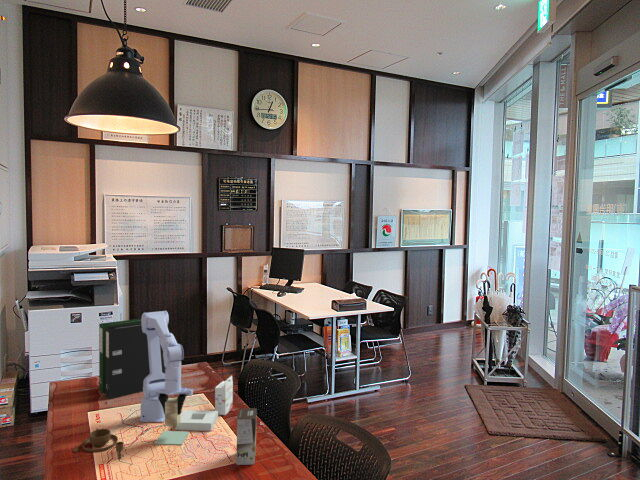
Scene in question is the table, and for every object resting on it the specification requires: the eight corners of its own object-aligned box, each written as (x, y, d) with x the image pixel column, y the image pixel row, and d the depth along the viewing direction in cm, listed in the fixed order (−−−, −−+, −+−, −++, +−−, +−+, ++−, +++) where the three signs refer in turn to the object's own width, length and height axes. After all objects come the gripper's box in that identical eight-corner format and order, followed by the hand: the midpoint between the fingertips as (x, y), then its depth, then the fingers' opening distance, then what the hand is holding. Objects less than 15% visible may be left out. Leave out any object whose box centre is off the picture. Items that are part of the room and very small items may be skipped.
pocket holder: (175, 429, 186) (175, 422, 186) (184, 416, 198) (184, 409, 198) (211, 430, 186) (211, 423, 186) (217, 417, 198) (218, 410, 198)
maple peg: (164, 426, 177) (165, 402, 176) (168, 420, 181) (169, 397, 181) (176, 426, 177) (177, 402, 176) (180, 421, 181) (180, 398, 181)
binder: (155, 378, 243) (155, 316, 241) (167, 386, 232) (168, 322, 230) (99, 390, 225) (99, 323, 223) (109, 400, 214) (109, 329, 212)
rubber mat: (154, 444, 174) (154, 443, 174) (163, 431, 184) (163, 430, 184) (181, 445, 174) (181, 444, 174) (189, 432, 184) (189, 431, 184)
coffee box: (254, 464, 162) (255, 419, 161) (235, 465, 161) (236, 419, 161) (256, 451, 171) (257, 407, 170) (238, 451, 171) (239, 408, 170)
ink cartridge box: (222, 406, 210) (222, 373, 209) (232, 407, 209) (233, 374, 208) (214, 414, 202) (214, 380, 201) (225, 415, 201) (225, 381, 200)
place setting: (127, 435, 182) (127, 420, 182) (125, 461, 164) (125, 444, 163) (76, 441, 176) (76, 426, 176) (68, 469, 157) (68, 452, 157)
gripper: (149, 381, 174) (149, 417, 175) (189, 382, 174) (189, 418, 175) (156, 374, 181) (156, 409, 182) (194, 375, 181) (194, 410, 182)
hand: (172, 413), depth 179 cm, fingers closed on maple peg, 4 cm apart
